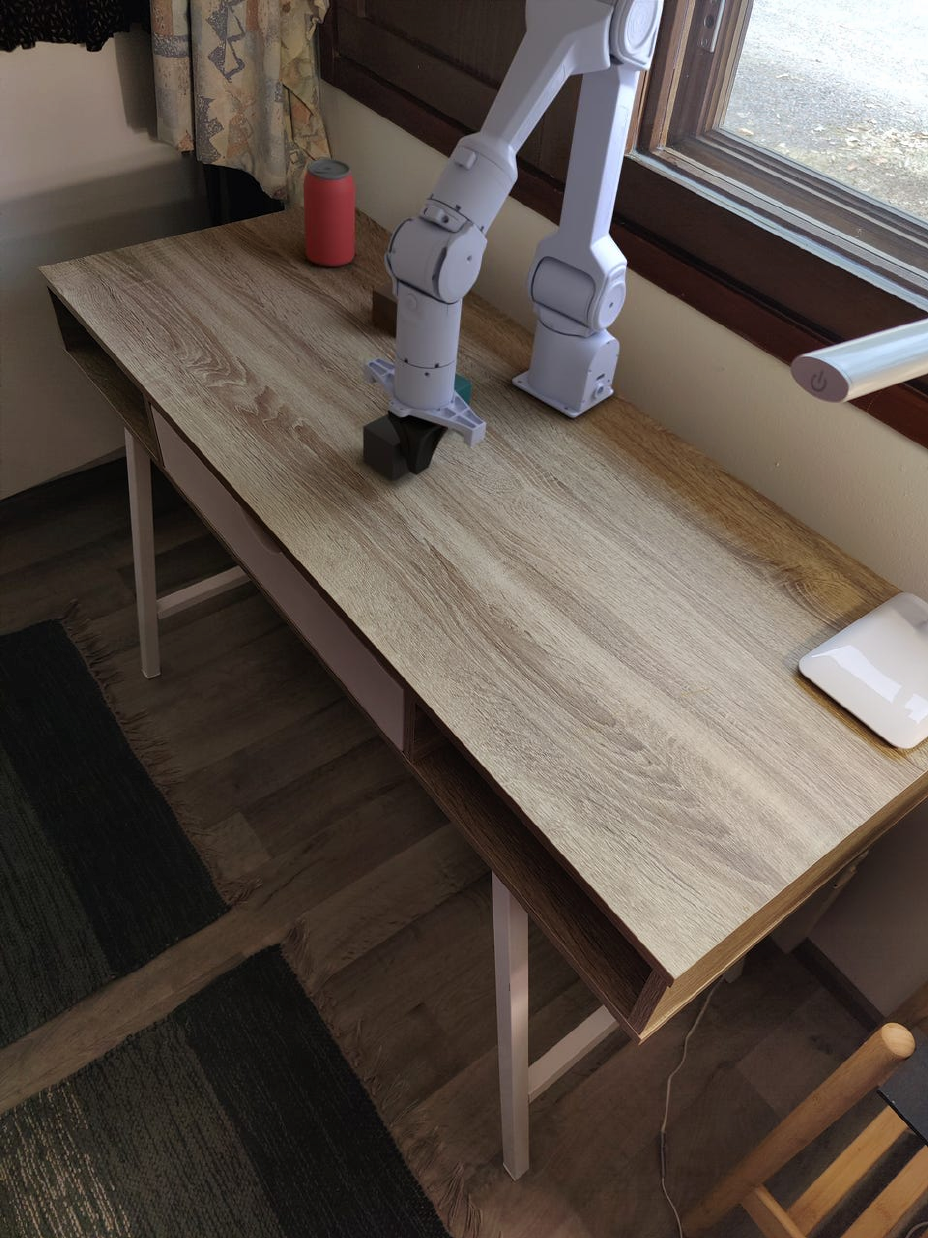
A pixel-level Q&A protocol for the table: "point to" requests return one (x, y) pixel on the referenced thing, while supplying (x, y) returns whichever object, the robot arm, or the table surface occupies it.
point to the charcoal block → (383, 449)
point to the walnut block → (385, 308)
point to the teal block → (463, 388)
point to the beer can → (329, 213)
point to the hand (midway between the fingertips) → (418, 468)
